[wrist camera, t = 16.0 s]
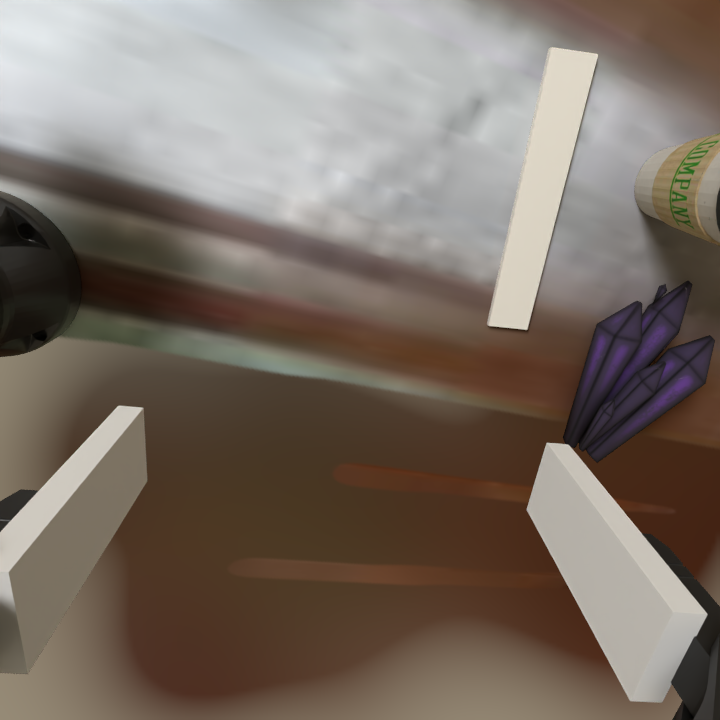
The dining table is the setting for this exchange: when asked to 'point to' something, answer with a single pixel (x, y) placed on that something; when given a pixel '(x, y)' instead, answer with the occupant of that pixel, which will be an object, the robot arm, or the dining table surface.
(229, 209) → the dining table surface
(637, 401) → the crystal
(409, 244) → the dining table surface
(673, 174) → the coffee cup
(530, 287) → the cream flat slat
